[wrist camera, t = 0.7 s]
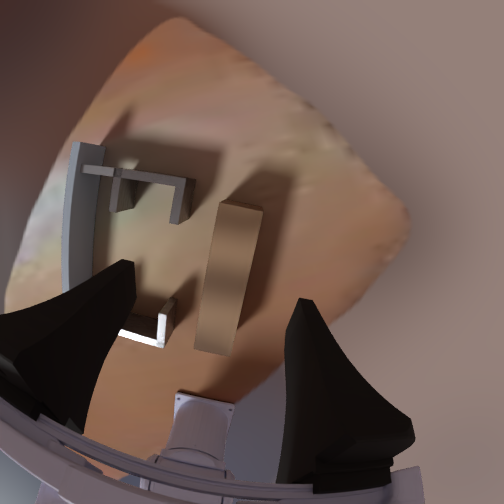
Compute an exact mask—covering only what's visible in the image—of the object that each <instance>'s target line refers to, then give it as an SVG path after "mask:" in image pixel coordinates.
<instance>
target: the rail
mask: <svg viewBox="0 0 504 504" xmlns="http://www.w3.org/2000/svg"><path fill="white" fill-rule="evenodd" d="M262 216H263V208H262V207H259V206H255V205H250V204H246V203H241V202H236V201H231V200H227V199H225V200H223V201H221V202H219V207H218V212H217V216H216V222H215V227H214V232H213V237H212V242H211V247H210V253H209V258H208V264H207V269H206V275H205V281H204V287H203V292H202V298H201V305H200V311H199V317H198V323H197V330H196V336H195V343H194V349H196V350H200V351H204V352H209V353H213V354H218V355H223V356H228V357H230V356H231V351H232V347H233V343H234V338H235V334H236V330H237V325H238V321H239V317H240V312H241V308H242V304H243V299H244V295H245V291H246V286H247V282H248V277H249V273H250V269H251V264H252V260H253V256H254V251H255V247H256V243H257V238H258V234H259V229H260V225H261V221H262Z"/></svg>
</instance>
